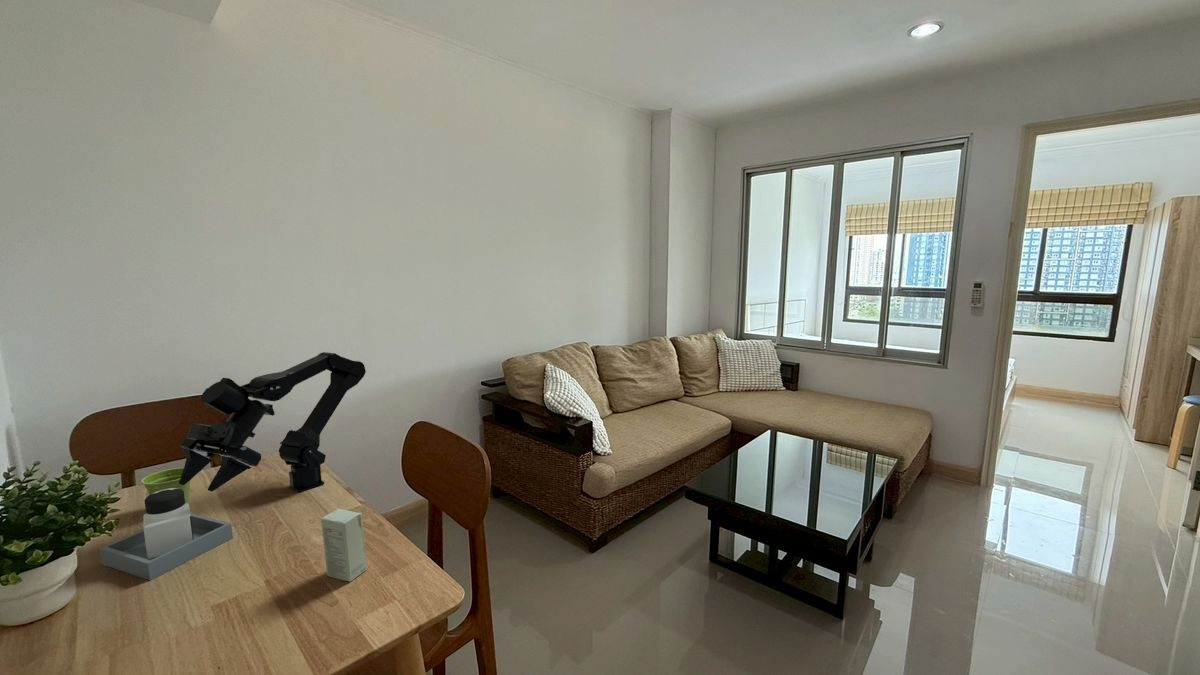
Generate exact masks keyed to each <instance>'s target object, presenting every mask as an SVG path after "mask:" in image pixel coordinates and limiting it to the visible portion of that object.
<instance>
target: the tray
mask: <svg viewBox="0 0 1200 675" xmlns="http://www.w3.org/2000/svg"><path fill="white" fill-rule="evenodd" d="M190 514H191V521H192V529H193V537H194V540H192V541H190V542H188V543H186V544H184V545H181V546H179V547H177V548H175V549H173V550H171V551H169V552H167V553H165V554H163V555H161V556H159V557H155V558H152V559H148V558H147V551H146V544H145V536H144V529H141V530H139V531H137V532H134V533H132V534H130V535H127V536H125V537H123V538H121V539H118V540H115V541H114V542H111V543H109V544H106V545H104V546H101V547H99V554H100V555H99V556H100V562H101V565H102V564H105V565H107V566H106V567H108V566H110V567H109V568H111V567H113V568H112V569H114V568H115V569H114V570H117V569H118V571H120V570H121V572H123V571H124V572H125V573H127V574H130V575H133V576H135V577H139V578H141V579H145V580H148V581H152V580H154V579H156V578H158V577H160V576H162V575H163V574H165V573H168V572H169V571H171V570H174V569H175V568H177V567H179V566H182V565H183V564H186V563H187V562H189V561H191V560H194V558H197V557H199V556H201V555H202V554H205V553H207V552H209V551H211V550H212V549H215V548H216V547H218V546H221V545H222V544H224V543H226V542H228V541H230V540H232V539H233V538H234V536H233V528H232V527H233V526H232V523H231V522H227V521H223V520H218V519H215V518H212V517H207V516H203V515H200V514H196V513H192V512H190ZM105 565H104V566H105Z"/></svg>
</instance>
